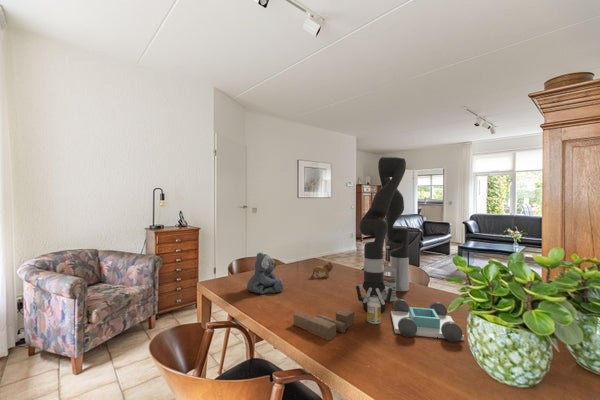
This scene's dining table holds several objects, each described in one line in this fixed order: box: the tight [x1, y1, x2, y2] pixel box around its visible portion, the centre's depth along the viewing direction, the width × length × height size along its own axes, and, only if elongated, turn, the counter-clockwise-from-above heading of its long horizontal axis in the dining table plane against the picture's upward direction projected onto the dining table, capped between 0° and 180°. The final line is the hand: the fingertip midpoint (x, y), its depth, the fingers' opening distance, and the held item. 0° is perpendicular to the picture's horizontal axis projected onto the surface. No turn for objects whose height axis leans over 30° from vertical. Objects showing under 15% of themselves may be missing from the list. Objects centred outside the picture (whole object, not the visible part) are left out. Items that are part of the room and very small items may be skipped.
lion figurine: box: [310, 261, 334, 279], centre depth 166 cm, size 15×5×9 cm, turn 105°
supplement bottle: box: [366, 295, 382, 325], centre depth 105 cm, size 5×5×10 cm
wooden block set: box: [292, 309, 355, 341], centre depth 103 cm, size 17×6×18 cm
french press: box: [382, 245, 399, 302], centre depth 130 cm, size 10×12×25 cm
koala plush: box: [246, 252, 284, 295], centre depth 143 cm, size 17×18×20 cm
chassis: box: [390, 298, 465, 343], centre depth 101 cm, size 20×22×6 cm
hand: (373, 312), depth 105 cm, fingers closed on supplement bottle, 5 cm apart
